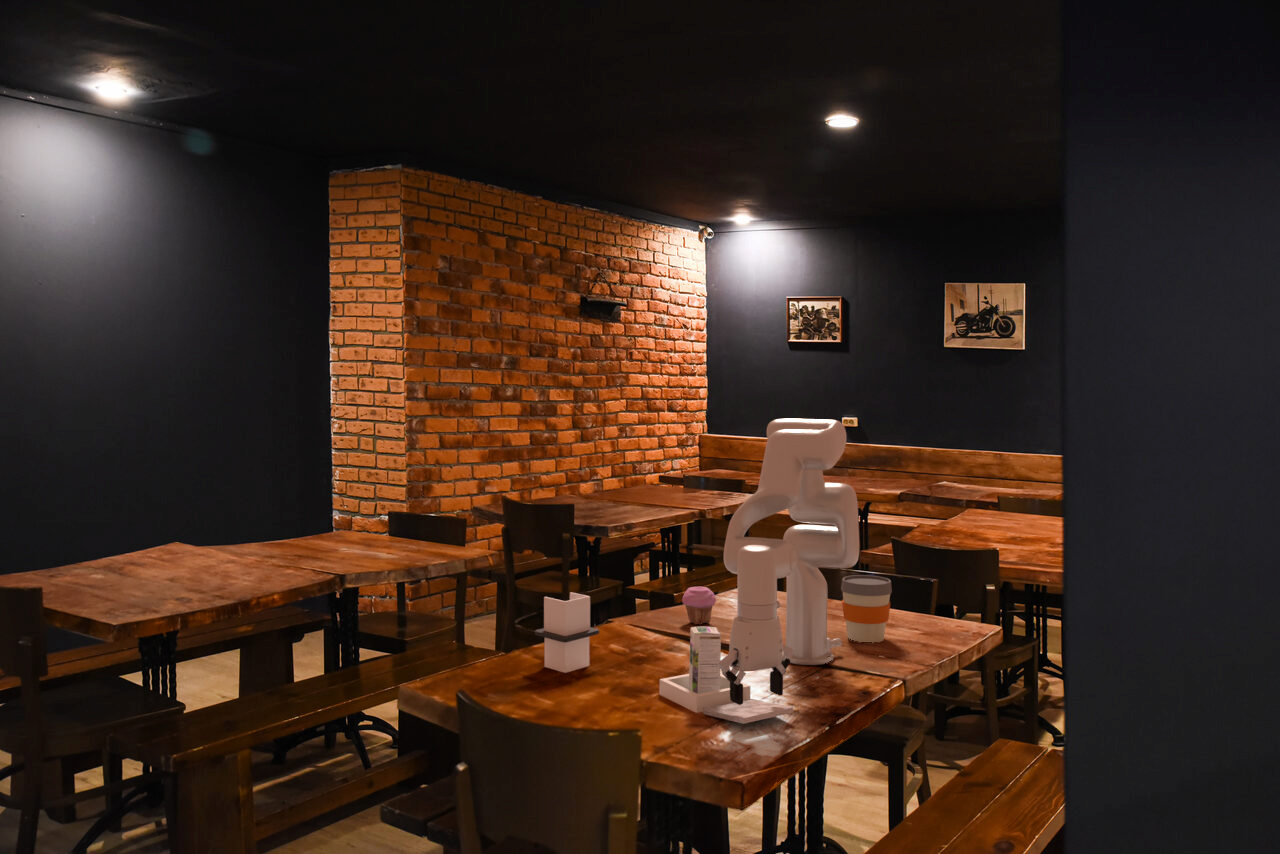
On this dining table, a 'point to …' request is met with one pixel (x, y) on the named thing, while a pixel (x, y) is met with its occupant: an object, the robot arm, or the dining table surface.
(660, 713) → the dining table surface
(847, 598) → the reusable coffee cup
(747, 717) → the white square slab
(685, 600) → the cupcake
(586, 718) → the dining table surface
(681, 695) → the white piece
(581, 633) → the white flanged box
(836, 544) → the robot arm
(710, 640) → the syrup box
